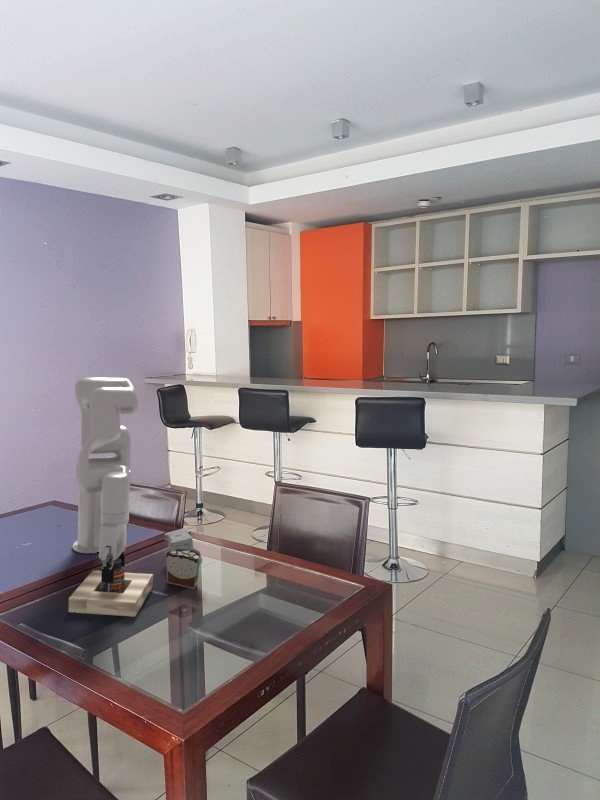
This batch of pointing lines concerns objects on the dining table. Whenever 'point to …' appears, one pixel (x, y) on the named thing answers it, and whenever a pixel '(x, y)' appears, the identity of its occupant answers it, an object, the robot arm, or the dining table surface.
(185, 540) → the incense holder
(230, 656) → the dining table surface
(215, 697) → the dining table surface
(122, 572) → the supplement bottle
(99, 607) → the socket board
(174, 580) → the food container
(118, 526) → the robot arm
